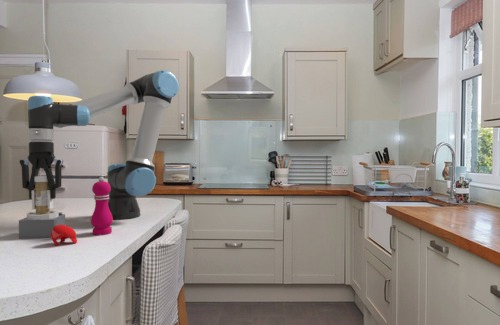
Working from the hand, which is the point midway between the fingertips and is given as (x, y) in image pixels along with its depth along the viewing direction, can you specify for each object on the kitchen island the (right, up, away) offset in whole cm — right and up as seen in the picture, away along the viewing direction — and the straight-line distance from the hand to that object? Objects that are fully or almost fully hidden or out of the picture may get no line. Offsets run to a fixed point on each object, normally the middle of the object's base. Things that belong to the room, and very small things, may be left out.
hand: (42, 208), depth 125 cm
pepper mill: (+20, -9, +2) cm, 22 cm away
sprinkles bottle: (0, -2, 0) cm, 2 cm away
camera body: (0, -9, 0) cm, 9 cm away
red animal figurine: (+14, -10, -12) cm, 21 cm away
